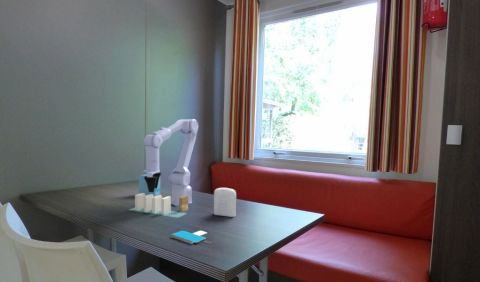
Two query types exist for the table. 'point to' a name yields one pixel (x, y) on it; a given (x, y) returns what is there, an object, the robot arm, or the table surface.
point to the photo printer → (225, 202)
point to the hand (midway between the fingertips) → (153, 190)
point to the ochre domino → (183, 203)
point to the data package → (144, 188)
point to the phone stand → (190, 237)
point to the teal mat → (171, 214)
